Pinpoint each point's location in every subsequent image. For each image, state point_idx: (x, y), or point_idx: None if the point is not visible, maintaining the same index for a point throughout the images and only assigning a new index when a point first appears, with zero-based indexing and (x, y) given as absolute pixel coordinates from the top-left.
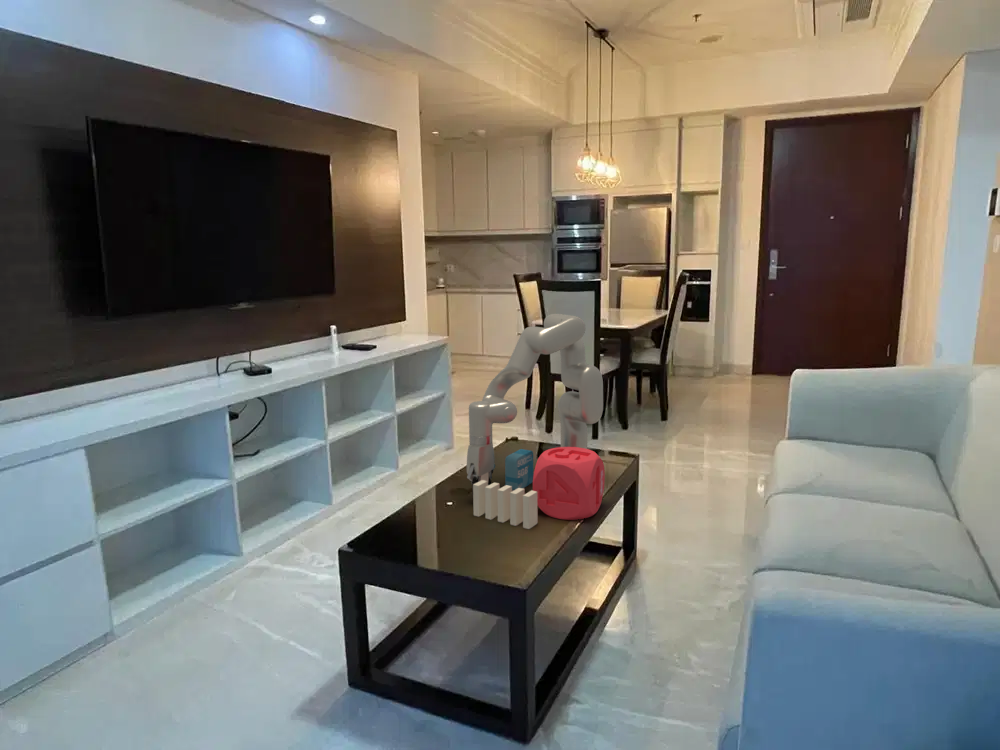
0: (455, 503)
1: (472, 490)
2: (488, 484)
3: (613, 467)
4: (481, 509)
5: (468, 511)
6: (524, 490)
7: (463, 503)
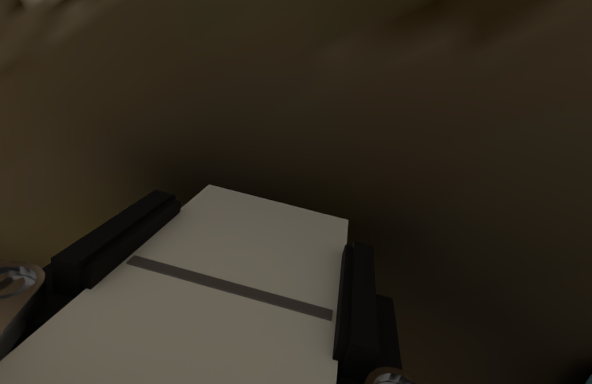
0: (76, 20)
1: (130, 207)
2: None
3: None
4: None
5: (7, 208)
6: None
7: (116, 100)
